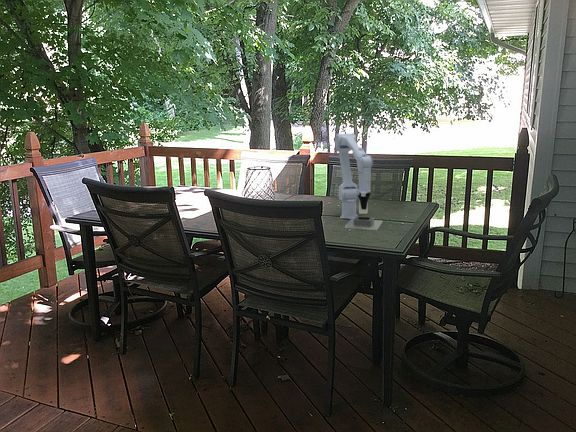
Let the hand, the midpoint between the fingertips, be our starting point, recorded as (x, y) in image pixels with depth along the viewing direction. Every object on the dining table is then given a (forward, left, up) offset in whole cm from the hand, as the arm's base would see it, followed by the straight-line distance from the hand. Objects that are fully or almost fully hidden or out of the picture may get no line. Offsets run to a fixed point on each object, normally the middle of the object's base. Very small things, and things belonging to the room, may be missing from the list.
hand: (364, 208), depth 251 cm
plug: (0, 0, -2) cm, 2 cm away
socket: (0, 0, -9) cm, 9 cm away
